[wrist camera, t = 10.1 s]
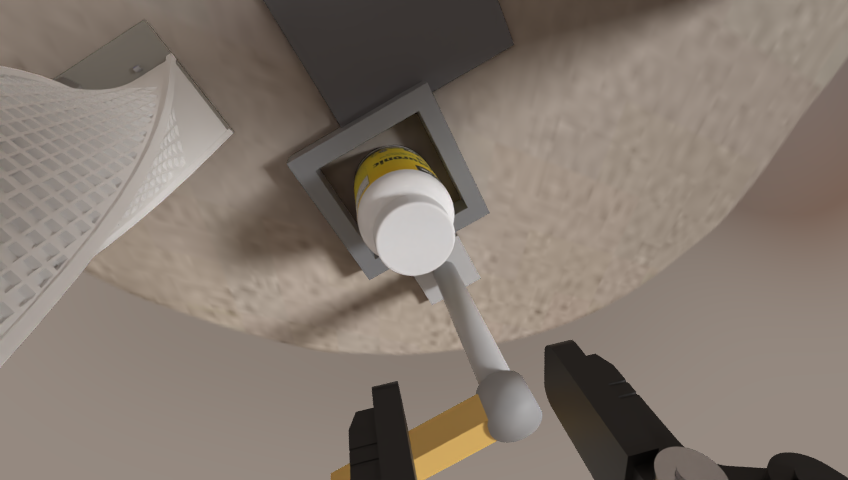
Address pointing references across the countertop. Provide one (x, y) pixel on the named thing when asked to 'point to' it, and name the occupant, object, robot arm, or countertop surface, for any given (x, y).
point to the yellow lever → (472, 425)
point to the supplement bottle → (403, 211)
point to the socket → (471, 206)
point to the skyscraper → (89, 164)
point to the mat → (388, 45)
